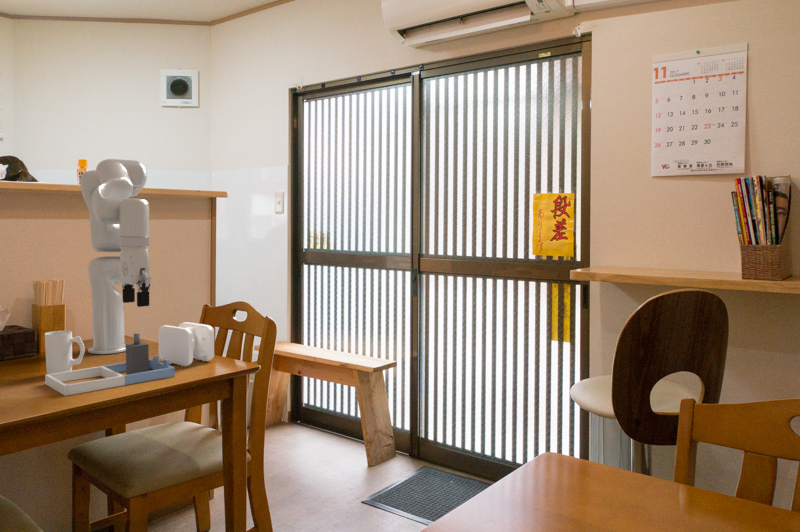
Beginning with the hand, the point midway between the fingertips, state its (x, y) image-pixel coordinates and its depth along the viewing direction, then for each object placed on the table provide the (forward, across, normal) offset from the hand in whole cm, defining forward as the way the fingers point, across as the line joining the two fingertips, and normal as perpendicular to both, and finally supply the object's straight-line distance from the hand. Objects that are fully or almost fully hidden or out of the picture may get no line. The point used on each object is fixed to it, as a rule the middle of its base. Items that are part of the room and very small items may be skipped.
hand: (135, 304), depth 172 cm
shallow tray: (+20, +1, -7) cm, 21 cm away
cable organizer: (+21, -6, +18) cm, 28 cm away
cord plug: (+20, 0, 0) cm, 20 cm away
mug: (+21, -14, -14) cm, 29 cm away
